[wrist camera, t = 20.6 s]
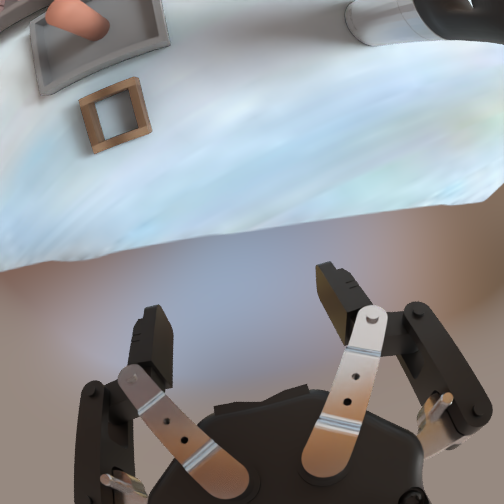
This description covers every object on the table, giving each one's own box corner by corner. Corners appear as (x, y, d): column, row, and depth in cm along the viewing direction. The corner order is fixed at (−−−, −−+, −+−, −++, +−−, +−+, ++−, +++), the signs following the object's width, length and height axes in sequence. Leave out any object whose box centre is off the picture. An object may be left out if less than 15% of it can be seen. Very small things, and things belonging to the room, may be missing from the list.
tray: (156, -26, 23) (152, -36, 20) (170, 45, 31) (167, 40, 27) (41, 25, 22) (29, 22, 19) (52, 94, 30) (40, 95, 26)
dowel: (107, 14, 25) (74, -12, 14) (111, 34, 27) (77, 14, 16) (83, 24, 24) (44, 5, 13) (87, 45, 27) (46, 31, 16)
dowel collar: (138, 77, 32) (134, 76, 30) (152, 131, 37) (148, 133, 34) (86, 99, 32) (78, 99, 29) (100, 150, 37) (94, 154, 34)
